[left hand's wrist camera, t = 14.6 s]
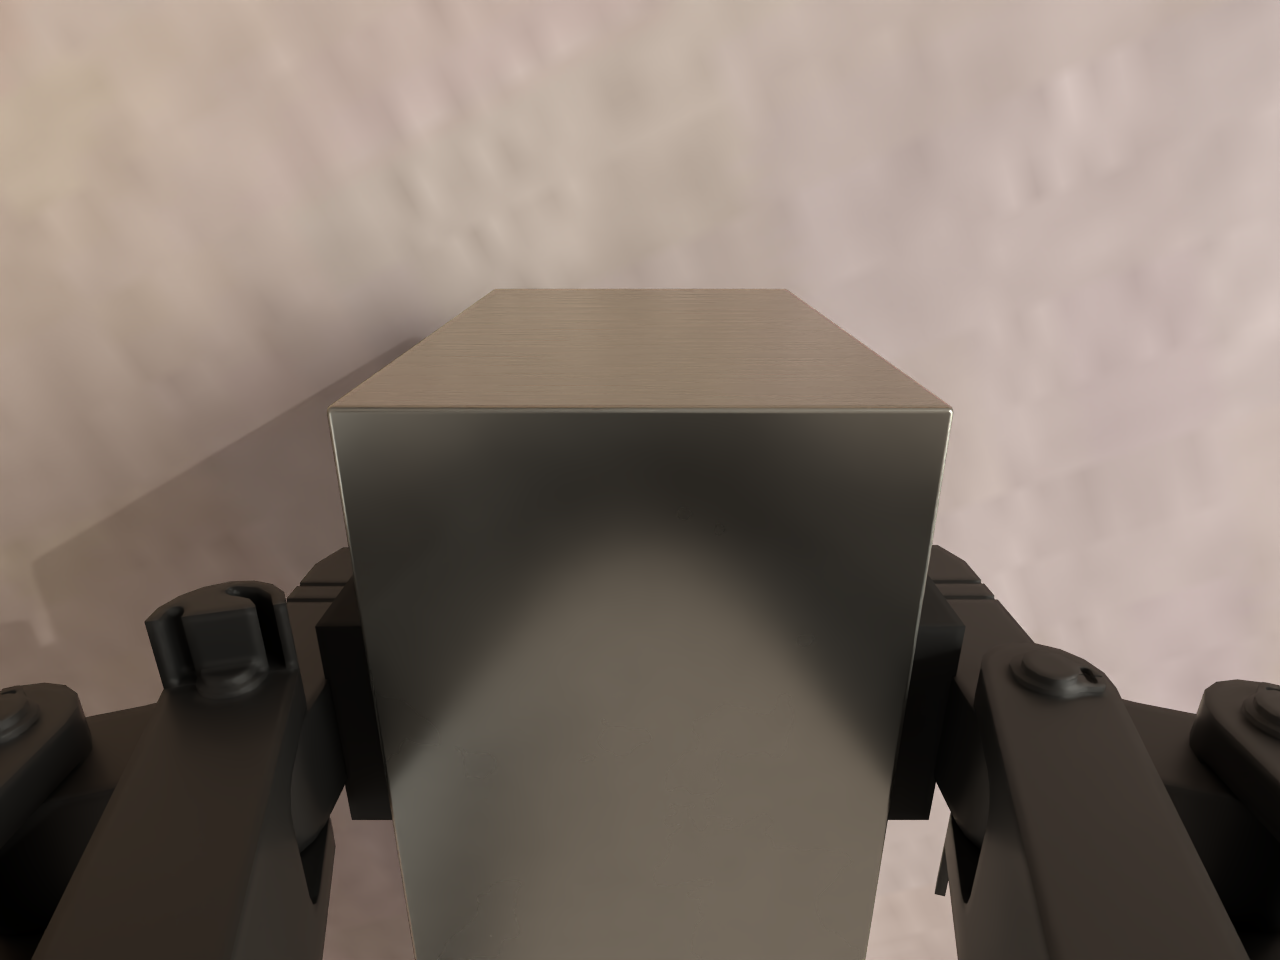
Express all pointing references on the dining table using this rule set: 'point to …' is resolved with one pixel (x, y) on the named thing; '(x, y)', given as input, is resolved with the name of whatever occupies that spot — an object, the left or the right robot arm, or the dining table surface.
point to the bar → (640, 620)
